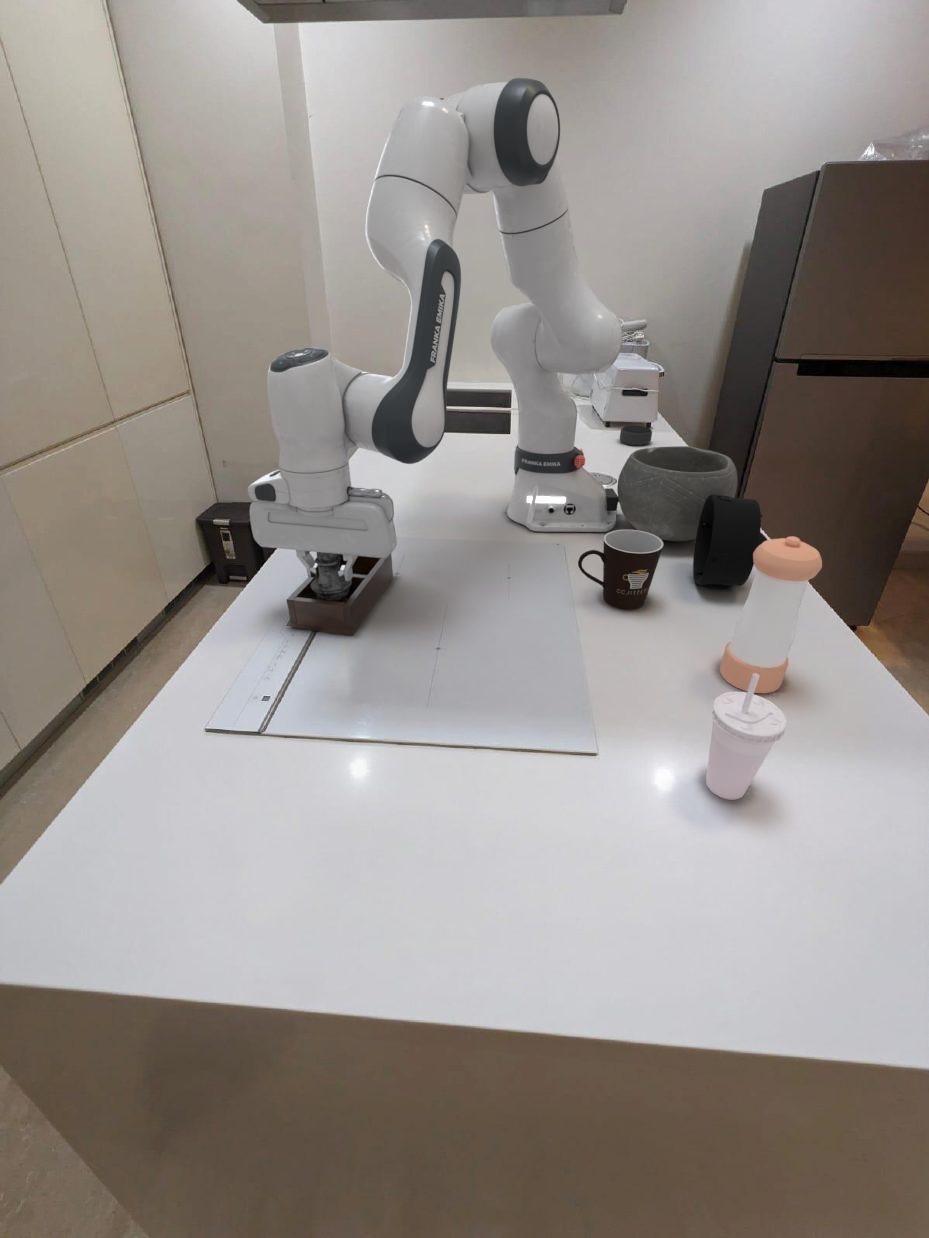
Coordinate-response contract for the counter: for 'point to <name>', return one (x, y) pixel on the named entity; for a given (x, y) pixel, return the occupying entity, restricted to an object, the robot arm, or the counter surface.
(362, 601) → the divided wooden box
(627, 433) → the smart speaker
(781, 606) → the pepper shaker
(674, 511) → the bowl
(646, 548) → the coffee mug
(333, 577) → the salt shaker
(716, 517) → the black cylinder
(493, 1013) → the counter surface
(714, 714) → the smoothie
